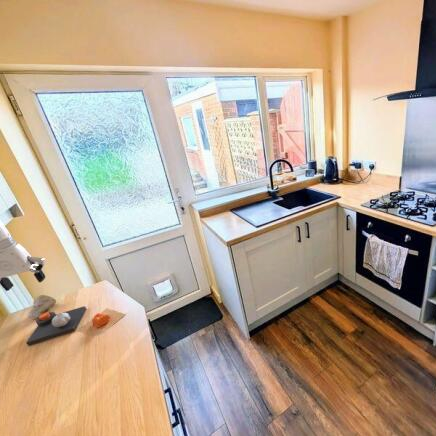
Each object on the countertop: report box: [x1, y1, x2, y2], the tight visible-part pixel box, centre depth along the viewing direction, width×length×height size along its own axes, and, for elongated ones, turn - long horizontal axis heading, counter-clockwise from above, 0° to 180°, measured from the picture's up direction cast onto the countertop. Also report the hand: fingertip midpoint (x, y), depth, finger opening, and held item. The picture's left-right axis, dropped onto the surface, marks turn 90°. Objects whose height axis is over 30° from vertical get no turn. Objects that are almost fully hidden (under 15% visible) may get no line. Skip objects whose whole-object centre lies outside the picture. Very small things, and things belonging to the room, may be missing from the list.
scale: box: [25, 306, 87, 347], centre depth 100 cm, size 15×14×4 cm
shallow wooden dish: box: [77, 307, 126, 337], centre depth 99 cm, size 12×12×4 cm
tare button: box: [38, 311, 50, 321], centre depth 101 cm, size 3×3×2 cm
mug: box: [26, 294, 57, 320], centre depth 109 cm, size 8×10×10 cm
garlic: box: [52, 312, 70, 327], centre depth 98 cm, size 6×5×5 cm
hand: (26, 284), depth 91 cm, fingers open, 9 cm apart
